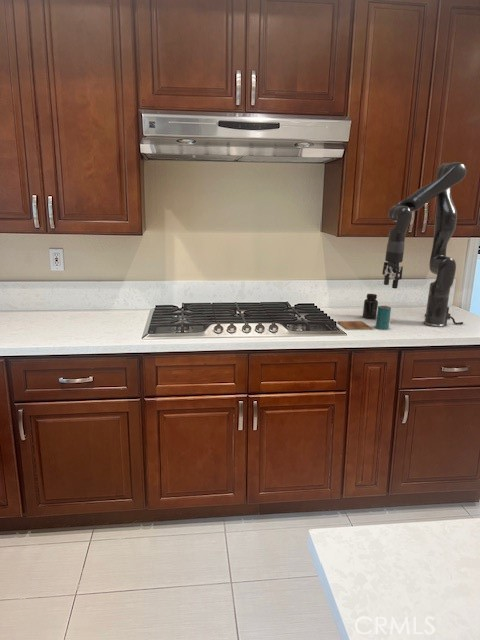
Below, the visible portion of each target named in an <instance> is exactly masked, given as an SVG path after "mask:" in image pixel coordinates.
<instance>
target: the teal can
mask: <svg viewBox="0 0 480 640" xmlns="http://www.w3.org/2000/svg"><path fill="white" fill-rule="evenodd" d="M391 311H392V307H391V306H388V305H378V308H377V316H376V319H375V329H378V330H382V331H383V330H385V331H387V330H389V329H390V328H389V327H390V322H391V321H390V320H391Z"/></svg>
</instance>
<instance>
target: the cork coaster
mask: <svg viewBox="0 0 480 640" xmlns="http://www.w3.org/2000/svg"><path fill="white" fill-rule="evenodd" d="M337 323H338V324H339V325H340V326H342V327H343V328H344V329H346V330H372V329H373V328H372V327H371V326H369V325H368V324H367V323H365V322H363V321H362V320H360V321H359V320H346V321H345V320H344V321H343V320H341V321H340V320H338V321H337Z"/></svg>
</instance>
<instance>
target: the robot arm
mask: <svg viewBox="0 0 480 640" xmlns="http://www.w3.org/2000/svg"><path fill="white" fill-rule="evenodd" d="M466 175H467V166H466V164H464V163H463V162H459V161H451V162H443V163H442V164H440V166H439V167H438V168H437V171H436V179H435V180H434V181H432V182H430V183H427V184H426V185H424V186H421V187H420V188H419V189H417V190H415V191H414V192H413V193H412V194H410V195H409V196H408V197H406V198H404V199H402V200H401V201H399V202H397V203H395V204H394V205H393V206H391V208H389V210H388V213H387V216H388V219H389V220H390V221H392V222H396V223H395V225H394V226H393V227H391V228H390V229H389V232H388V239H387V244H386V248H385V249H386V250H385V259H384V260H385V261H384V262H383V267H382V273H381V274H382V275H383V277H384V279H383V285H384V286H389V284H390V279H391V278H390V277H391V276H392V283H391V284H392V285H391V288H392V289H398V285H399V281H400V280H402V279H403V269H404V267H403V265H400V263H403V260H404V259H403V258H404V252H405V241H406V233H407V231H408V228H409V226H410V223H411V220H412V218H413V212H415V211H418V210H420V209H421V208H423V207H424V206H425V205H426V204H427V203H428V202H430V201H431V200H432V199H434V198H435V197H436V202H435V203H436V206H435V215H434V216H435V217H434V228H433V239H432V247H431V252H430V258H429V262H428V263H429V264H428V265H429V270H430V272H431V273H432V274H433V275H436V278H435V280H434V281H433V282H430V283H429V290H428V296H427V300H426V301H427V302H426V310H425V314H424V322H423V324H425V325H427V326H431V327H445V326H447V325H448V324H447V323H448V321H449V320H451V321H452V323H453V324H454V325H463V324H464V321H460V322H456V320H455V318H454V317H453V316H451V313H449V311H450V306H449V300H450V299H449V298H450V294H451V288H452V286H453V284H454V281H455V276H456V270H457V261H456V260H455V259H454V258H453V257H450V256H447V248H448V244H449V242H450V240H451V238H452V237H453V235H454V233H455V231H456V227H457V220H458V211H457V208H456V205H455V202H454V200H453V198H452V187H453V186H455V185H457V184H459V183H460V182H462V181H463V180H464V179H465V177H466Z"/></svg>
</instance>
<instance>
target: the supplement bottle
mask: <svg viewBox="0 0 480 640" xmlns="http://www.w3.org/2000/svg"><path fill="white" fill-rule="evenodd" d="M377 298H378V295H377V294H376V293H367V294H366V298H365V299H364V301H363V307H362V308H363V309H362V318H364V319H367V320H376V319H377V311H378V306H379V301H378V300H377Z"/></svg>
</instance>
